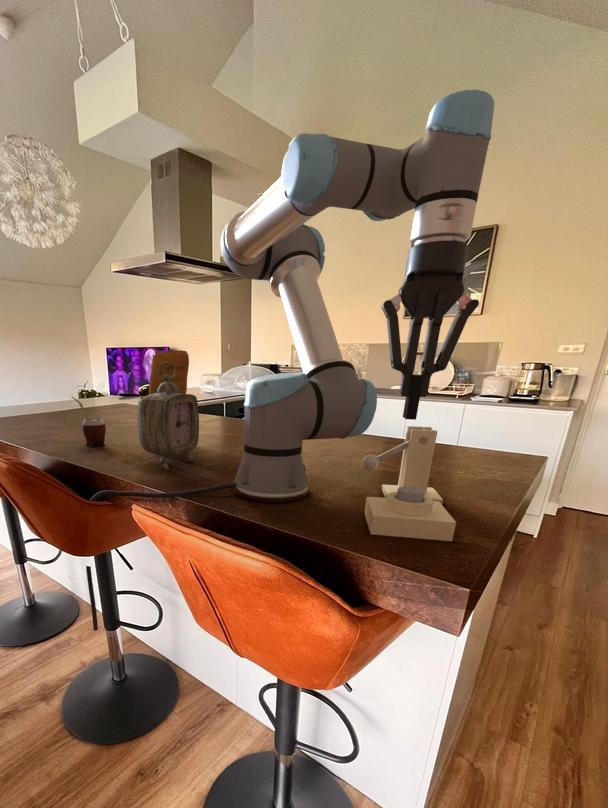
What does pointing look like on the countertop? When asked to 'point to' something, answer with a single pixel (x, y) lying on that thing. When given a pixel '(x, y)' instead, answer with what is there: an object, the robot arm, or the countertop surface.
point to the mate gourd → (93, 429)
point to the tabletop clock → (168, 420)
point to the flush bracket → (417, 462)
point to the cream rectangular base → (409, 518)
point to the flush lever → (383, 456)
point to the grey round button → (410, 494)
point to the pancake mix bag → (169, 370)
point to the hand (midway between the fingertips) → (409, 418)
